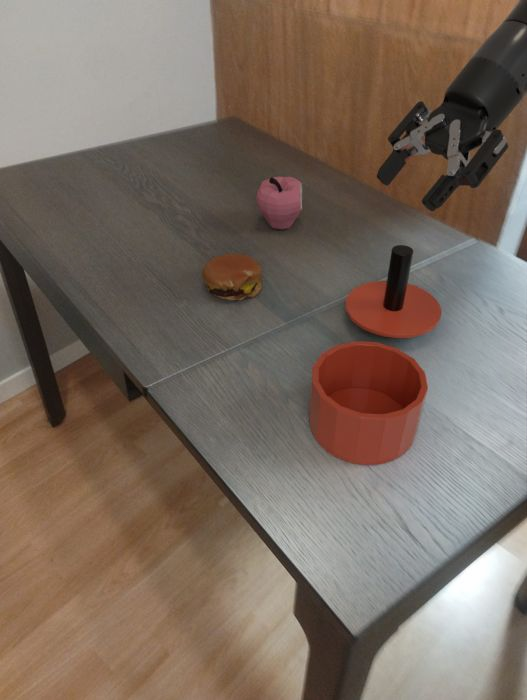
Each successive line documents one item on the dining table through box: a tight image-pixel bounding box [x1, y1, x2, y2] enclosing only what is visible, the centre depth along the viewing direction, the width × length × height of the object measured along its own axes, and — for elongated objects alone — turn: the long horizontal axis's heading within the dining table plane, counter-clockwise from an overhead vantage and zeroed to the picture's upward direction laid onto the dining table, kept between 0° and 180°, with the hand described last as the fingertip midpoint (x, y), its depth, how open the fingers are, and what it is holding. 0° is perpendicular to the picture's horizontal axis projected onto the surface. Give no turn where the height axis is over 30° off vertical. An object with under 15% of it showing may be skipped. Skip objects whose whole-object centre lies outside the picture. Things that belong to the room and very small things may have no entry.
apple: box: [255, 176, 303, 230], centre depth 99 cm, size 10×9×10 cm
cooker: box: [309, 340, 429, 466], centre depth 61 cm, size 12×12×8 cm
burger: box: [201, 253, 263, 302], centre depth 85 cm, size 10×9×5 cm
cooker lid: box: [345, 244, 442, 339], centre depth 74 cm, size 13×13×10 cm
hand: (403, 193), depth 65 cm, fingers open, 8 cm apart
